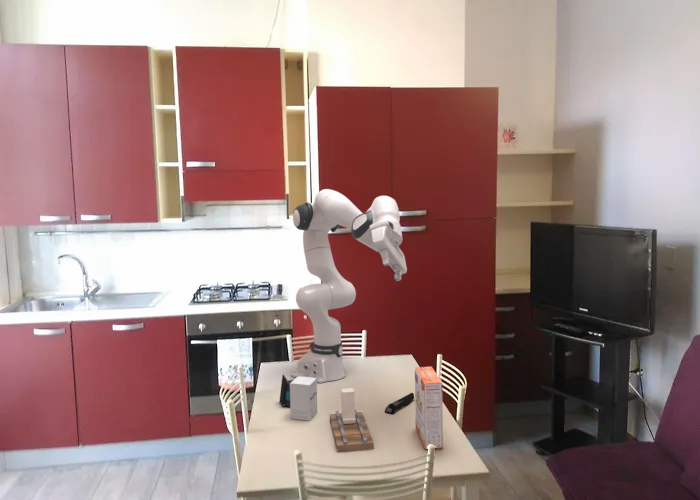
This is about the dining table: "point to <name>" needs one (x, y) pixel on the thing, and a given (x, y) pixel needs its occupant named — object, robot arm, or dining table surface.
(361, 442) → the switch track
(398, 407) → the electric trimmer
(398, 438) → the dining table surface
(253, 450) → the dining table surface
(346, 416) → the switch tab
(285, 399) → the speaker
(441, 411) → the cracker box
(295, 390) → the supplement box
